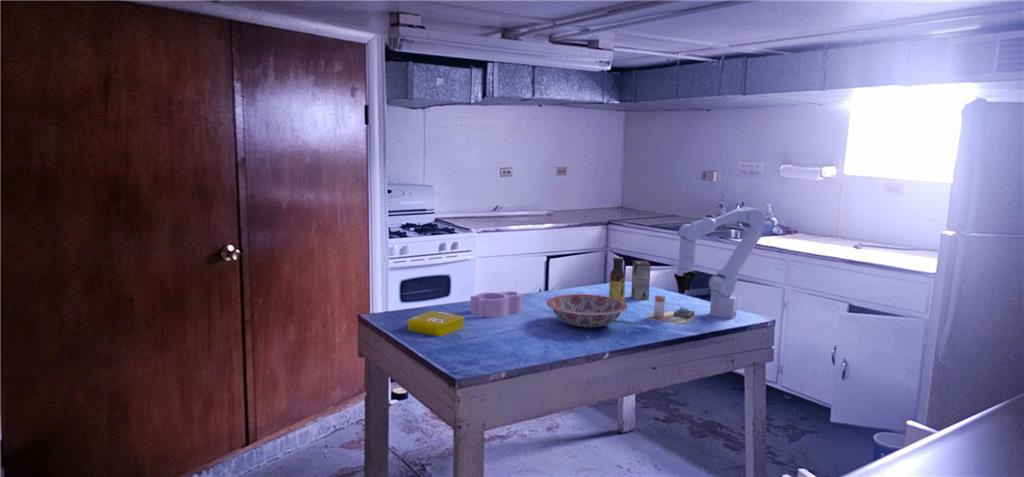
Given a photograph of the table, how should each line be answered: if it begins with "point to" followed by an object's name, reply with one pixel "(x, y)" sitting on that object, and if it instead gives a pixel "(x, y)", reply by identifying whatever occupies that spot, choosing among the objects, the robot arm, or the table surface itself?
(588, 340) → the table surface
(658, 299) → the cylinder
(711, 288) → the robot arm
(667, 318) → the beige flat square board
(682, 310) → the button
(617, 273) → the sauce bottle
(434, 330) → the element tile
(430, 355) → the table surface
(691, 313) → the button housing
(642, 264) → the coffee box
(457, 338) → the table surface
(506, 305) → the pink lobed tray
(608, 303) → the ceramic bowl
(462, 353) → the table surface
